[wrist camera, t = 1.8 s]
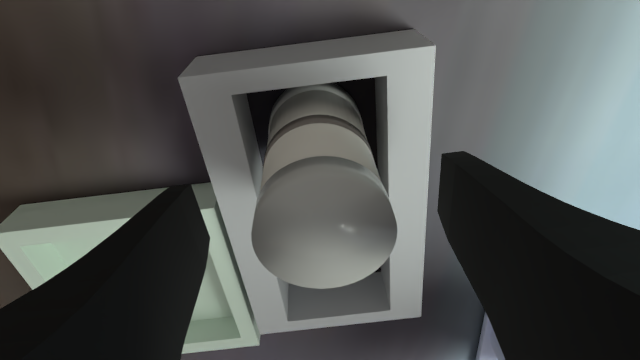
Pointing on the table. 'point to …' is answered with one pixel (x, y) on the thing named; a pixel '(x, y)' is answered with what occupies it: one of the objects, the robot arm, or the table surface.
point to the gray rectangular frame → (392, 157)
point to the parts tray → (104, 219)
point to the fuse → (321, 193)
